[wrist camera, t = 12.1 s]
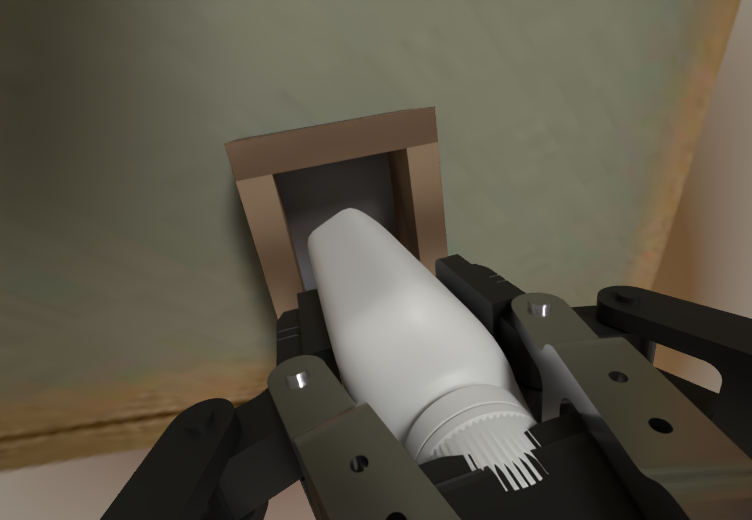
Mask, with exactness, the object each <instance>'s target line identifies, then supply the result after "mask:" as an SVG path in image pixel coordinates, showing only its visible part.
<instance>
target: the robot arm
mask: <svg viewBox="0 0 752 520" xmlns="http://www.w3.org/2000/svg"><path fill="white" fill-rule="evenodd" d="M435 272H436V278H437V279H438V280H439V281H440V282H441V283H442V284H443V285H444V286H445V287H446V288H447V289H448V290H449V291H450V292H451V293H452V294H453V295H454V296H455V297H456V298H457V299H458V300H459V301H460V302H461V303H462V304H463V305H465V306H466V307H467V308H468V309H469V311H470V312H471V313H472V314H473V315H474V316H475V317H476V318H477V319H478V320H479V321H480V322H481V323H482V324H483V325H484V327H485V328H486V329H487V330H488V332H489V333H490V334H491V335H492V337H493V338H494V339H495V341H496V342H497V344H498V345H499V347H500V348H501V350H502V352H503V353H504V355H505V357H506V359H507V361H508V363H509V365H510V367H511V369H512V372H513V374H514V377H515V380H516V384H517V387H518V392H519V397H520V404H521V405H522V406H523V407H524V408H525V409H526V410H527V412H528V413H529V414H530V415H531V416H532V417H533V418H534V420H535V421H536V422H537V423H538V424H535V425H534V426H533V427H531V428H530V429H528V431H529V432H530V433H531V434H532V436H533V437H534V438H535V439H536V441H537V442H538V443H539V444H540V445H541V447H540V446H539V445H538V443H537V442H536V441H535V440H534V438H533V437H532V436H531V435H530V433H529V432H528V431H526V432H524V434H525V435H526V436H527V438H528V439H529V440H530V441H531V443H532V444H533V445H534V446H535V448H536V449H533V450H530V451H531V452H532V454H533V455H534V456H535V458H536V459H537V460H538V461H537V460H536V459H535V458H534V457H532V456H531V455H529V454H527V453H525V452H524V454H525V456H526V457H527V458H528V460H529V461H530V463H531V464H532V465H533V467H534V468H535V469H536V471H537V472H538V473H539V475H540V476H541V477H542V480H540V481H539V479H538V478H537V477H536V475H535V474H534V472H533V471H532V470H531V468H530V467H529V466H528V464H527V463H526V462H524V461H523V460H522V459H521V458H519V457H518V458H519V459H520V461H521V462H522V464H523V465H524V467H525V468H526V469H527V471H528V472H529V474H530V475H531V476H532V478H533V479H534V481H535V482H536V483H535V484H533V485H531V484H530V483H529V481H528V480H527V478H526V477H525V476H524V474H523V473H522V471H521V470H520V468H519V467H518V466H517V465H516V464H515V463H514V462H513V461H512V462H513V464H514V466H515V467H516V469H517V470H518V472H519V473H520V475H521V476H522V478H523V479H524V480H525V482H526V483H527V485H528V487H525V488H523V487H522V486H521V484H520V483H519V481H518V480H517V478H516V477H515V476H514V474H513V473H512V471H511V470H510V469H509V468H508V467H507V466H506V465H505V464H504V465H505V467H506V469H507V471H508V473H509V474H510V476H511V477H512V479H513V480H514V482H515V483H516V485H517V486H518V488H519V489H518V490H514V488H513V487H512V485H511V484H510V482H509V481H508V479H507V477H506V476H505V474H504V473H503V472H502V470H501V469H500V468H499V467H498V466H497V465H495V464H494V466H495V469H496V472H497V474H498V476H499V477H500V479H501V481H502V482H503V484H504V485H505V487H506V488H507V490H508V491H506V490H505V489H504V487H503V485H502V484H501V482H500V480H499V479H498V477H497V476H496V474H495V473H494V472H493V471H492V470H491V468H489V467H488V466H485V467H484V471H483V470H482V469H481V468H480V469H478V467H477V466H476V464H475V462H474V460H473V459H472V457H471V455H470V454H467V455H468V456H469V458H470V460H471V461H472V463H473V465H474V467H475V468H476V470H474V471H472V470H471V468H470V466H469V464H468V463H467V461H466V459H465V457H464V455H456V456H445V457H440V458H437V459H434V460H431V461H428V462H426V463H423V464H420V465H417V464H416V462H415V461H414V460H413V459H412V457H411V456H410V455H409V454H408V452H407V451H406V450H405V449H404V447H403V446H402V445H401V444H400V442H399V441H398V440H397V439H396V437H395V436H394V435H393V434H392V432H391V431H390V430H389V429H388V427H387V426H386V425H385V424H384V422H383V421H382V420H381V419H380V417H379V416H378V415H377V414H376V412H375V411H374V410H373V409H372V407H371V406H370V405H369V404H368V403H367V402H366V401H364V400H362V401H360V402H359V403H357V404H356V403H355V402H354V401H353V400H352V398H351V397H350V396H349V394H348V393H347V392H346V390H345V389H344V388H343V386H342V382H341V378H340V374H339V370H338V366H337V363H336V360H335V356H334V352H333V349H332V345H331V341H330V338H329V334H328V330H327V327H326V323H325V319H324V315H323V311H322V306H321V302H320V298H319V294H318V290H317V288H316V289H312V290H308V291H304V292H300V293H297V300H298V308H297V309H293V310H289V311H285V312H283V314H282V315H281V316H280V318H279V319H278V321H277V367H275V368H274V369H273V371H272V372H271V373H270V375H269V377H268V380H267V385H268V388H267V389H266V390H265V391H264V392H262V393H261V394H260V395H258V396H257V397H255V398H253V399H252V400H250V401H248V402H246V403H244V404H242V405H240V406H238V407H236V408H234V406H233V404H232V403H231V402H230V401H229V400H226V399H222V398H214V399H208V400H205V401H202V402H199V403H197V404H195V405H193V406H191V407H189V408H188V409H186V410H185V411H183V412H182V413H181V414H179V415H178V416H177V417H176V418H175V419H174V420H173V421H172V422H171V424H170V425H169V426H168V427H167V429H166V430H165V432H164V433H163V434H162V436H161V437H160V438H159V440H158V441H157V442H156V444H155V445H154V447H153V448H152V449H151V451H150V452H149V453H148V455H147V456H146V457H145V459H144V460H143V462H142V463H141V464H140V466H139V467H138V468H137V470H136V471H135V472H134V474H133V475H132V477H131V478H130V480H129V481H128V482H127V483H126V485H125V486H124V487H123V489H122V490H121V492H120V493H119V494H118V496H117V497H116V498H115V500H114V501H113V502H112V504H111V505H110V507H109V508H108V509H107V511H106V512H105V513H104V515H103V516H102V518H101V519H100V520H263V519H264V516H265V513H266V510H267V507H268V500H269V499H271V498H272V497H274V496H275V495H277V494H278V493H280V492H281V491H283V490H284V489H286V488H287V487H289V486H290V485H292V484H293V483H295V482H296V481H298V480H299V479H300V482H301V484H302V486H303V489H304V491H305V494H306V496H307V499H308V501H309V504H310V506H311V508H312V511H313V513H314V516H315V518H316V520H752V319H750V318H747V317H743V316H740V315H736V314H732V313H729V312H725V311H721V310H718V309H714V308H710V307H707V306H703V305H699V304H696V303H693V302H689V301H685V300H681V299H678V298H674V297H671V296H667V295H663V294H660V293H656V292H653V291H649V290H646V289H642V288H638V287H632V286H611V287H607V288H604V289H602V290H600V291H599V292H598V295H597V306H583V307H570V306H569V305H568V304H567V303H566V302H565V301H564V300H563V299H561V298H559V297H557V296H554V295H551V294H546V293H525V292H523V291H522V290H520V289H519V288H517V287H516V286H514V285H513V284H511V283H510V282H508V281H507V280H506V281H505V279H504V278H503V277H501V276H500V275H497V273H495V272H494V271H492V270H491V269H489V268H487V267H484V266H481V265H477V264H471V263H469V262H468V261H466V260H465V259H464V258H462V257H461V256H459V255H458V254H456V255H452V256H448V257H444V258H440V259H437V260H436V261H435ZM657 343H658V344H661V345H664V346H666V347H669V348H672V349H674V350H677V351H680V352H682V353H685V354H688V355H690V356H693V357H696V358H698V359H701V360H704V361H706V362H708V363H710V364H712V365H713V366H714V367H715V368H716V369H717V370H718V371H719V373H720V374H721V376H722V385H721V389H720V393H719V394H718V393H715V392H713V391H711V390H708V389H706V388H703V387H701V386H699V385H696V384H694V383H691V382H689V381H687V380H684V379H682V378H680V377H677V376H675V375H673V374H670V373H668V372H665V371H663V370H660V369H658V368H656V367H654V366H653V361H654V355H655V349H656V344H657ZM541 465H542V466H541ZM544 469H545V470H544ZM547 473H548V474H547Z"/></svg>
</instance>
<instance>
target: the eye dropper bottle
mask: <svg viewBox="0 0 752 520" xmlns="http://www.w3.org/2000/svg"><path fill="white" fill-rule="evenodd" d="M307 245H308V251H309V256H310V260H311V264H312V269H313V273H314V277H315V281H316V286H317V290H318V294H319V298H320V302H321V306H322V311H323V315H324V319H325V323H326V327H327V330H328V334H329V338H330V341H331V345H332V349H333V352H334V356H335V360H336V363H337V366H338V369H339V372H340V374H341V377H342V380H343V383H344V385H345V388H346V390H347V392H348V394H349V396H350V397H351V398H352V400H353V401H354V402H355V403H356V404H357V403H359V402H360V401H362V400H364V401H366V402H367V403H368V404H369V405H370V406H371V407H372V409H373V410H374V411H375V412H376V414H377V415H378V416H379V417H380V419H381V420H382V421H383V422H384V424H385V425H386V426H387V427H388V429H389V430H390V431H391V432H392V434H393V435H394V436H395V437H396V439H397V440H398V441H399V442H400V444H401V445H402V446H403V447H404V449H405V450H406V451H407V452H408V454H409V455H410V456H411V457H412V459H413V460H414V461H415V462H416V464H417V465H420V464H423V463H426V462H428V461H431V460H434V459H437V458H440V457H445V456H456V455H464V457H465V459H466V461H467V463H468V464H469V466H470V468H471V470H472V471H474V470H476V468H475V467H474V465H473V463H472V461H471V460H470V458H469V456H468V455H467V454H470V455H471V457H472V459H473V460H474V462H475V464H476V466H477V467H478V469H480V468H481V469H482V470H483V471H484V467H485V466H488V467H489V468H491V470H492V471H493V472H494V473H495V474H496V476H497V477H498V479H499V480H500V482H501V484H502V485H503V487H504V489H505V490H506V491H508V490H507V488H506V487H505V485H504V484H503V482H502V481H501V479H500V477H499V476H498V474H497V472H496V469H495V466H494V464H495V465H497V466H498V467H499V468H500V469H501V470H502V472H503V473H504V474H505V476H506V477H507V479H508V481H509V482H510V484H511V485H512V487H513V488H514V490H518V489H519V488H518V486H517V485H516V483H515V482H514V480H513V479H512V477H511V476H510V474H509V473H508V471H507V469H506V467H505V465H506V466H507V467H508V468H509V469H510V470H511V471H512V473H513V474H514V476H515V477H516V478H517V480H518V481H519V483H520V484H521V486H522V487H523V488H525V487H528V485H527V483H526V482H525V480H524V479H523V478H522V476H521V475H520V473H519V472H518V470H517V469H516V467H515V466H514V464H513V462H514V463H515V464H516V465H517V466H518V467H519V468H520V470H521V471H522V473H523V474H524V476H525V477H526V478H527V480H528V481H529V483H530V484H531V485H533V484H535V483H536V482H535V481H534V479H533V478H532V476H531V475H530V474H529V472H528V471H527V469H526V468H525V467H524V465H523V464H522V462H521V461H520V459H519V458H521V459H522V460H523V461H524V462H526V463H527V464H528V466H529V467H530V468H531V470H532V471H533V472H534V474H535V475H536V477H537V478H538V479H539V481H540V480H542V477H541V476H540V475H539V473H538V472H537V471H536V469H535V468H534V467H533V465H532V464H531V463H530V461H529V460H528V458H527V457H526V456H525V454H524V452H525V453H527V454H529V455H531V456H532V457H534V458H535V456H534V455H533V454H532V452H531V451H530V450H533V449H536V448H535V446H534V445H533V444H532V443H531V441H530V440H529V439H528V438H527V436H526V435H525V434H524V432H526V431H528V429H530V428H531V427H533V426H534V425H535V424H538V423H537V422H536V421H535V420H534V418H533V417H532V416H531V415H530V414H529V413H528V412H527V410H526V409H525V408H524V407H523V406H522V405H521V404H520V397H519V392H518V387H517V384H516V380H515V377H514V374H513V372H512V369H511V367H510V365H509V363H508V361H507V359H506V357H505V355H504V353H503V352H502V350H501V348H500V347H499V345H498V344H497V342H496V341H495V339H494V338H493V337H492V335H491V334H490V333H489V332H488V330H487V329H486V328H485V327H484V325H483V324H482V323H481V322H480V321H479V320H478V319H477V318H476V317H475V316H474V315H473V314H472V313H471V312H470V311H469V309H468V308H467V307H466V306H465V305H463V304H462V303H461V302H460V301H459V300H458V299H457V298H456V297H455V296H454V295H453V294H452V293H451V292H450V291H449V290H448V289H447V288H446V287H445V286H444V285H443V284H442V283H441V282H440V281H439V280H438V279H437V278H436V277H435V276H434V275H433V274H432V273H431V272H430V271H429V270H428V269H427V268H426V267H425V266H424V265H422V264H421V263H420V262H419V261H418V260H417V259H416V258H415V257H414V256H413V255H412V254H411V253H410V252H409V251H408V250H407V249H406V248H405V247H404V246H403V245H402V244H401V243H400V242H399V241H398V240H397V239H396V238H395V237H394V236H392V235H391V234H390V233H389V232H388V231H387V230H386V229H385V228H384V227H383V226H382V225H380V224H379V223H378V222H377V221H375V220H374V219H372V218H371V217H370V216H368V215H366V214H365V213H363V212H361V211H359V210H357V209H352V208H348V209H345V210H342V211H340V212H339V213H337V214H336V215H334V216H333V217H332V218H330V219H329V220H327V221H326V222H325V223H323V224H322V225H320V226H319V227H318V228H317V229H315V230H314V231H313V232H312V233H311V235H310V236H309V237H308V244H307ZM528 432H529V431H528ZM529 433H530V432H529ZM530 435H531V436H532V434H531V433H530ZM532 437H533V436H532ZM533 438H534V437H533ZM534 440H535V441H536V439H535V438H534ZM536 442H537V441H536ZM537 443H538V442H537ZM538 445H539V446H540V447H541V445H540V444H539V443H538ZM518 457H519V458H518ZM535 459H536V458H535ZM536 460H537V459H536ZM512 461H513V462H512ZM537 461H538V460H537ZM504 464H505V465H504ZM541 466H542V465H541ZM544 470H545V469H544ZM547 474H548V473H547Z"/></svg>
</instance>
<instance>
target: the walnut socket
mask: <svg viewBox="0 0 752 520" xmlns="http://www.w3.org/2000/svg"><path fill="white" fill-rule="evenodd" d="M224 145H225V148H226V152H227V155H228V158H229V161H230V165H231V168H232V171H233V174H234V178H235V181H236V184H237V187H238V191H239V194H240V197H241V201H242V204H243V207H244V210H245V214H246V217H247V220H248V223H249V227H250V230H251V233H252V236H253V240H254V243H255V246H256V250H257V253H258V256H259V259H260V263H261V266H262V269H263V272H264V276H265V279H266V282H267V285H268V289H269V292H270V295H271V299H272V302H273V305H274V308H275V312H276V315H277V318H278V319H279V318H280V316H281V315H282V314H283V312H285V311H289V310H293V309H297V308H298V300H297V293H300V292H304V291H308V290H312V289H316V288H317V286H316V281H315V277H314V273H313V269H312V264H311V260H310V256H309V251H308V245H307V244H308V237H309V236H310V235H311V233H312V232H313V231H314V230H315V229H317V228H318V227H319V226H320V225H322V224H323V223H325V222H326V221H327V220H329V219H330V218H332V217H333V216H334V215H336V214H337V213H339V212H340V211H342V210H345V209H348V208H352V209H357V210H359V211H361V212H363V213H365V214H366V215H368V216H370V217H371V218H372V219H374V220H375V221H377V222H378V223H379V224H380V225H382V226H383V227H384V228H385V229H386V230H387V231H388V232H389V233H390V234H391V235H392V236H394V237H395V238H396V239H397V240H398V241H399V242H400V243H401V244H402V245H403V246H404V247H405V248H406V249H407V250H408V251H409V252H410V253H411V254H412V255H413V256H414V257H415V258H416V259H417V260H418V261H419V262H420V263H421V264H422V265H424V266H425V267H426V268H427V269H428V270H429V271H430V272H431V273H432V274H433V275H434V276H435V277H436V272H435V261H436V260H437V259H440V258H444V257H448V251H447V240H446V229H445V217H444V206H443V195H442V183H441V172H440V161H439V150H438V138H437V127H436V116H435V107H428V108H418V109H409V110H401V111H395V112H389V113H384V114H378V115H372V116H367V117H361V118H355V119H350V120H344V121H338V122H333V123H327V124H321V125H316V126H310V127H304V128H298V129H293V130H287V131H281V132H276V133H270V134H264V135H259V136H253V137H247V138H242V139H236V140H233V141H231V142H228V143H226V144H224Z"/></svg>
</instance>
